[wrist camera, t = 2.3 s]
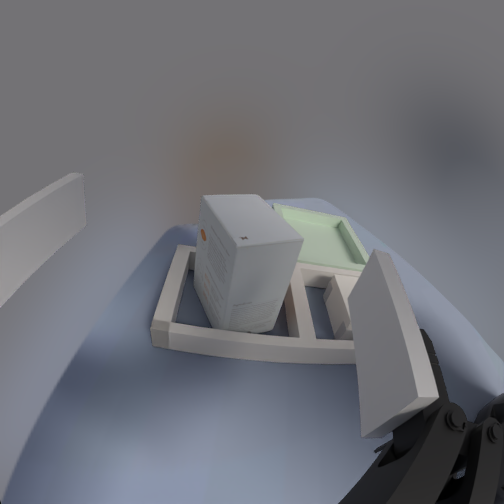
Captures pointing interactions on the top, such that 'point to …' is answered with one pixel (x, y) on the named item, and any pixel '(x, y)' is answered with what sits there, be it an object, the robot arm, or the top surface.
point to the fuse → (340, 305)
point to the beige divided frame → (246, 344)
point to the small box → (243, 262)
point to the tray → (325, 239)
